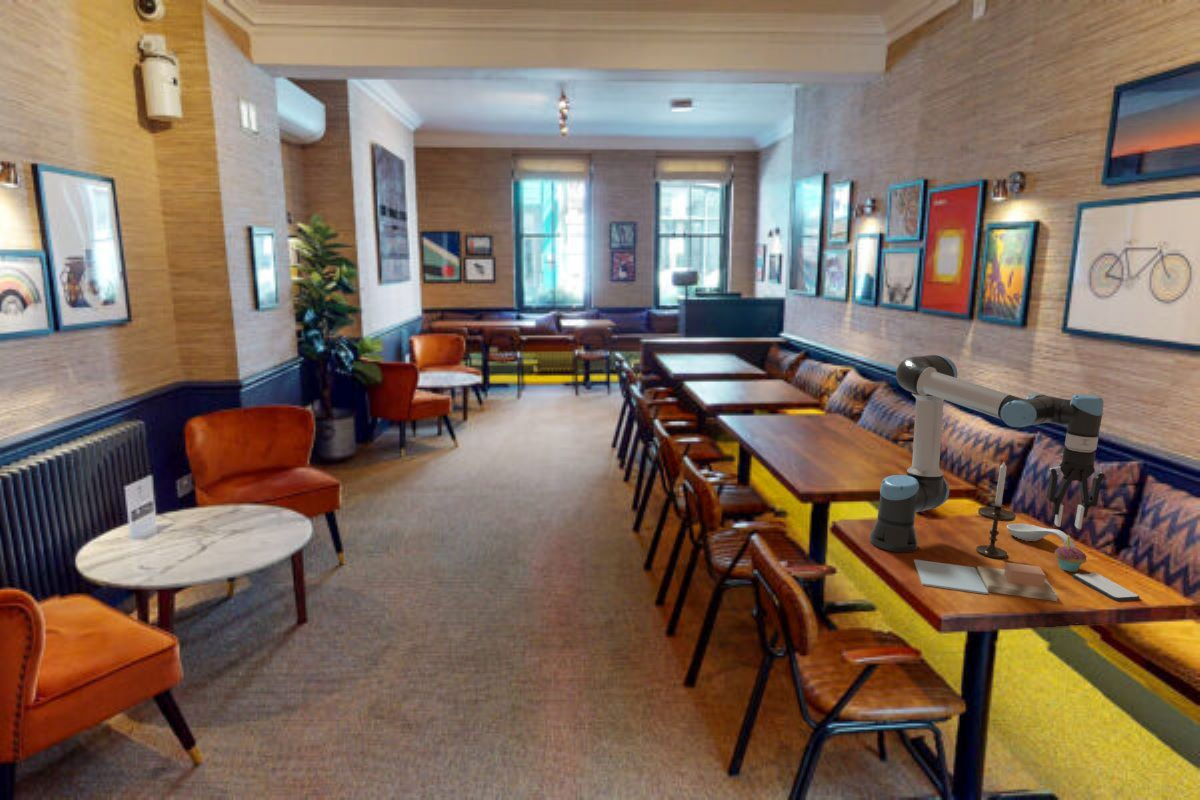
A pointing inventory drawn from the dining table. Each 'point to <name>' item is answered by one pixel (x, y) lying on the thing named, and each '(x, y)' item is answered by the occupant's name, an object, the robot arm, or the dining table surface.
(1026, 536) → the spoon rest
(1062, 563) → the cupcake
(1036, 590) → the beige flat rectangular piece
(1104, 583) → the phone case
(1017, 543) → the dining table surface
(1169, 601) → the dining table surface
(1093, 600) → the dining table surface
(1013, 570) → the pink block
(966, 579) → the mat
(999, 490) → the candlestick
